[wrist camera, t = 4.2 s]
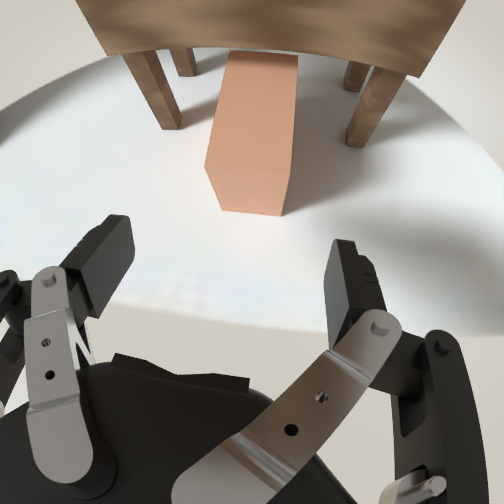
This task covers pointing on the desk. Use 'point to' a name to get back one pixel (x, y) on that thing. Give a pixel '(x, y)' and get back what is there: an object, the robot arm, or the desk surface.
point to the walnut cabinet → (277, 41)
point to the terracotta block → (253, 132)
